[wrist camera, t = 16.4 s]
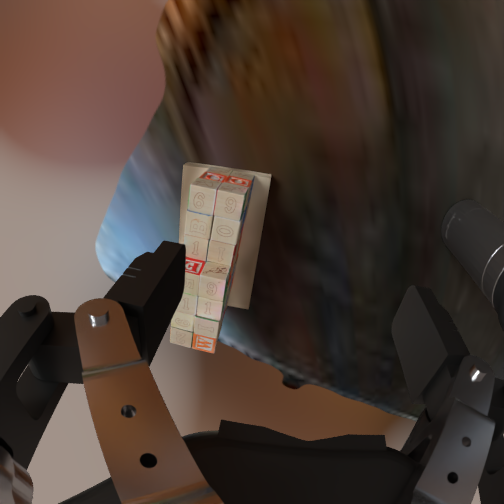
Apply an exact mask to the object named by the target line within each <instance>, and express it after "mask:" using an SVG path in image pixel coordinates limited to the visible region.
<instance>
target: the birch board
mask: <svg viewBox="0 0 504 504" xmlns="http://www.w3.org/2000/svg"><path fill="white" fill-rule="evenodd" d="M211 166H213V165H206V164H198V163H190V162H187V163H186V164H184V165H183V177H182V192H181V209H180V229H179V243H180V244H183V240H184V231H185V221H186V212H187V209H188V198H189V190H190V185H191V183H193V182H194V181H195V180H196V179H197V178H199V177H200V176H201V175H202V174H203V173H204V172H206V171H207V170H208V169H209V168H210V167H211ZM213 167H219V168H225V169H229V170H233V171H238V172H242V173H247V174H252V175H255V178H254V183H253V187H252V192H251V198H250V203H249V208H248V212H247V217H246V219H245V222H244V226H243V231H242V238H241V242H240V247H239V252H238V254H239V256H238V261H237V265H236V270H235V274H234V279H233V284H232V288H231V291H230V295H229V300H228V304H227V306H232V307H238V308H243V309H249V304H250V298H251V292H252V287H253V281H254V275H255V269H256V263H257V258H258V252H259V246H260V240H261V234H262V228H263V222H264V217H265V211H266V205H267V199H268V193H269V187H270V181H271V174H265V173H259V172H253V171H247V170H240V169H234V168H227V167H220V166H213Z"/></svg>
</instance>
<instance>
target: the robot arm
mask: <svg viewBox="0 0 504 504" xmlns="http://www.w3.org/2000/svg"><path fill="white" fill-rule="evenodd" d="M441 234H442V239H443V242H444V244H445V245H446V246H447V248H448V249H449V250H450V251H451V252H452V254H453V255H454V256H455V258H456V259H457V260H458V261H459V262H460V264H461V265H462V266H463V267H464V269H465V270H466V271H467V272H468V274H469V275H470V276H471V278H472V279H473V280H474V282H475V283H476V284H477V286H478V287H479V288H480V290H481V291H482V292H483V294H484V295H485V296H486V298H487V299H488V300H489V302H490V303H491V305H492V306H493V307H494V309H495V310H496V312H497V313H498V317H499V322H500V325H501V327H502V329H503V331H504V222H502V221H501V220H500V219H499V218H497V217H496V216H495V215H494V214H492V213H491V212H490V211H489V210H487V209H486V208H485V207H483V206H482V205H480V204H479V203H478V202H476V201H474V200H462V201H460V202H458V203H456V204H455V205H453V206H452V207H451V208H450V209H449V211H448V212H447V214H446V215H445V218H444V220H443V223H442V229H441ZM185 265H186V246H185V244H180V243H174V242H169V241H163V242H162V243H161V244H160V246H159V247H158V248H157V250H156V251H155V252H154V253H150V252H146V253H144V254H142V255H140V256H139V257H137V258H135V259H134V261H133V262H132V263H131V264H130V265H129V268H127V269H126V270H125V272H124V273H123V275H121V276H120V278H119V279H118V280H117V281H116V283H115V284H114V285H113V286H112V288H111V289H110V290H109V291H108V293H107V294H106V295H105V297H104V298H98V299H92V300H89V301H87V302H85V303H83V304H82V305H80V306H79V307H78V309H77V310H76V312H75V313H68V312H51V309H50V306H49V303H48V301H47V300H46V299H45V298H43V297H41V296H36V295H30V296H25V297H23V298H20V299H18V300H16V301H15V302H14V303H13V304H12V305H11V306H10V307H9V308H8V309H7V310H6V312H5V313H4V314H3V315H2V316H1V317H0V504H32V498H33V482H32V479H31V477H30V475H29V473H28V472H27V468H28V466H29V464H30V461H31V459H32V457H33V454H34V452H35V450H36V448H37V445H38V443H39V441H40V439H41V437H42V435H43V433H44V431H45V429H46V426H47V424H48V422H49V420H50V418H51V416H52V414H53V412H54V410H55V408H56V406H57V404H58V402H59V400H60V398H61V396H62V394H63V392H64V390H65V389H66V387H67V385H68V383H77V384H84V388H85V392H86V396H87V400H88V404H89V408H90V412H91V416H92V419H93V422H94V426H95V430H96V433H97V436H98V440H99V443H100V446H101V449H102V452H103V455H104V458H105V461H106V464H107V467H108V470H109V473H110V475H111V477H110V478H108V479H106V480H104V481H103V482H101V483H99V484H97V485H95V486H93V487H91V488H89V489H87V490H85V491H83V492H81V493H79V494H77V495H75V496H73V497H71V498H70V499H67V500H65V501H63V502H61V503H58V504H471V502H472V500H473V497H474V494H475V492H476V489H477V486H478V488H479V494H480V501H481V504H504V437H503V434H504V380H501V379H498V378H495V375H494V372H493V370H492V368H491V367H490V365H489V364H488V363H487V362H486V361H485V360H483V359H482V358H480V357H477V356H474V355H470V353H469V351H468V349H467V347H466V345H465V343H464V341H463V339H462V337H461V335H460V333H459V332H458V331H457V328H456V326H455V324H453V320H452V318H451V317H450V315H449V313H448V312H447V311H446V310H445V309H444V308H443V307H442V306H441V305H440V304H439V302H438V301H437V299H436V297H435V295H434V294H433V292H432V290H431V289H430V288H426V287H420V286H414V285H412V286H410V287H409V288H408V289H407V291H406V294H405V296H404V298H403V300H402V302H401V305H400V307H399V309H398V311H397V313H396V315H395V317H394V320H393V323H392V336H393V339H394V342H395V346H396V349H397V352H398V355H399V359H400V362H401V365H402V369H403V372H404V376H405V379H406V383H407V387H408V390H409V394H410V398H411V401H412V404H425V405H426V408H425V409H424V410H423V412H422V413H421V415H420V416H419V418H418V420H417V422H416V424H415V426H414V428H413V430H412V432H411V433H410V435H409V437H408V439H407V440H406V442H405V444H404V446H403V448H402V449H401V450H400V451H398V450H395V449H392V448H390V447H386V441H385V435H349V434H348V435H344V436H338V437H333V438H327V439H320V440H315V441H305V440H301V439H298V438H295V437H292V436H288V435H286V434H283V433H280V432H277V431H274V430H271V429H269V428H266V427H262V426H255V425H249V424H243V423H237V422H232V421H226V420H221V423H220V427H219V431H205V432H198V433H193V434H189V435H186V436H183V437H182V436H181V435H180V433H179V431H178V429H177V427H176V425H175V423H174V421H173V419H172V417H171V415H170V412H169V410H168V408H167V406H166V404H165V402H164V400H163V397H162V395H161V394H160V391H159V389H158V386H157V384H156V382H155V380H154V377H153V375H152V373H151V370H150V368H149V366H150V364H151V362H152V360H153V357H154V356H155V353H156V351H157V349H158V347H159V345H160V343H161V340H162V339H163V336H164V334H165V332H166V330H167V328H168V326H169V324H170V322H171V320H172V318H173V316H174V313H175V311H176V309H177V307H178V305H179V303H180V301H181V299H182V296H183V292H184V286H185ZM27 365H28V366H27ZM26 366H27V368H26ZM25 368H26V369H25ZM24 369H25V371H24ZM23 371H24V372H23ZM22 373H23V374H22ZM21 374H22V375H21ZM20 376H21V377H20ZM19 377H20V379H19ZM18 379H19V381H18ZM17 381H18V382H17Z"/></svg>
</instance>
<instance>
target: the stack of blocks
mask: <svg viewBox="0 0 504 504" xmlns="http://www.w3.org/2000/svg"><path fill="white" fill-rule="evenodd" d="M254 178H255V175H252V174H247V173H242V172H238V171H233V170H229V169H225V168H219V167H213V166H211V167H210V168H209V169H208V170H207V171H206V172H204V173H203V174H202V175H201V176H200V177H199V178H197V179H196V180H195V181H194V182H193V183H191V185H190V190H189V198H188V209H187V212H186V221H185V231H184V240H183V244H185V246H186V265H185V286H184V292H183V296H182V299H181V301H180V303H179V305H178V307H177V309H176V311H175V313H174V316H173V318H172V320H171V331H170V342H171V343H175V344H178V345H182V346H185V347H189V348H191V347H192V348H193V349H197V350H201V351H205V352H210V353H214V352H215V348H216V344H217V340H218V337H219V334H220V330H221V326H222V321H223V317H224V313H225V311H226V308H227V304H228V300H229V295H230V291H231V288H232V284H233V279H234V274H235V270H236V265H237V261H238V256H239V254H238V252H239V247H240V242H241V238H242V231H243V226H244V222H245V219H246V217H247V212H248V208H249V203H250V198H251V192H252V187H253V183H254Z"/></svg>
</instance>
